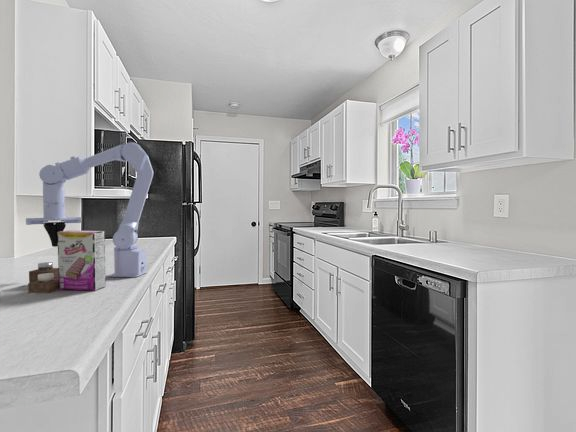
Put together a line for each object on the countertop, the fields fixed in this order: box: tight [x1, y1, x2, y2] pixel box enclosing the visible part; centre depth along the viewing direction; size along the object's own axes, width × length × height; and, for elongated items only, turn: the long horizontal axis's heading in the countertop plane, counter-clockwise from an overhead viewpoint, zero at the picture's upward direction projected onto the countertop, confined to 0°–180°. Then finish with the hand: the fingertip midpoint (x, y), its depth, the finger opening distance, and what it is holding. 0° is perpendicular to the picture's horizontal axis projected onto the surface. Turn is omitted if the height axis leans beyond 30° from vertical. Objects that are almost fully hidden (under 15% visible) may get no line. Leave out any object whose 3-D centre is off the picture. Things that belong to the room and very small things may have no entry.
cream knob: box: [38, 273, 54, 282], centre depth 95 cm, size 4×4×4 cm
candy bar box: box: [57, 229, 106, 292], centre depth 97 cm, size 11×5×16 cm, turn 84°
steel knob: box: [37, 261, 54, 270], centre depth 102 cm, size 4×4×6 cm
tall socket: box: [28, 267, 59, 283], centre depth 102 cm, size 6×6×4 cm
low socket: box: [27, 279, 59, 294], centre depth 95 cm, size 6×6×2 cm
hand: (55, 246), depth 110 cm, fingers closed
